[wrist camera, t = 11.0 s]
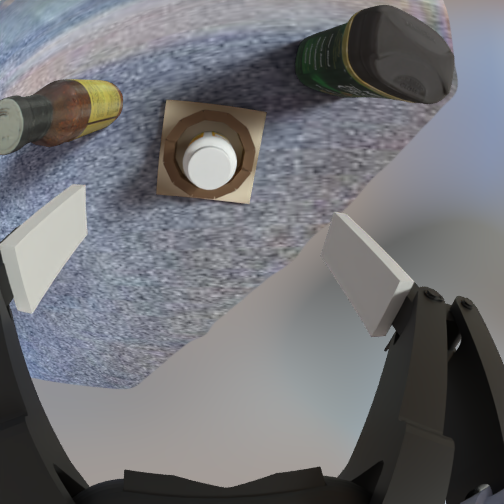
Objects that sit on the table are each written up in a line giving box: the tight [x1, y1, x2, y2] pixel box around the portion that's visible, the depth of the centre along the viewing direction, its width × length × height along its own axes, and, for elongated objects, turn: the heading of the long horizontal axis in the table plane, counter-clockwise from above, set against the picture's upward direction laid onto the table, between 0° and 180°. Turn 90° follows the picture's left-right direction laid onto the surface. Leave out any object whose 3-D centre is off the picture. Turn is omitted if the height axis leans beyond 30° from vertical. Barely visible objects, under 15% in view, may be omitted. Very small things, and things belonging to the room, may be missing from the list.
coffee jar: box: [295, 5, 454, 104], centre depth 22 cm, size 10×8×19 cm
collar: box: [156, 100, 267, 204], centre depth 32 cm, size 12×12×3 cm
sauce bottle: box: [0, 79, 123, 155], centre depth 20 cm, size 7×6×20 cm
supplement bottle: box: [183, 131, 237, 190], centre depth 29 cm, size 5×5×10 cm
